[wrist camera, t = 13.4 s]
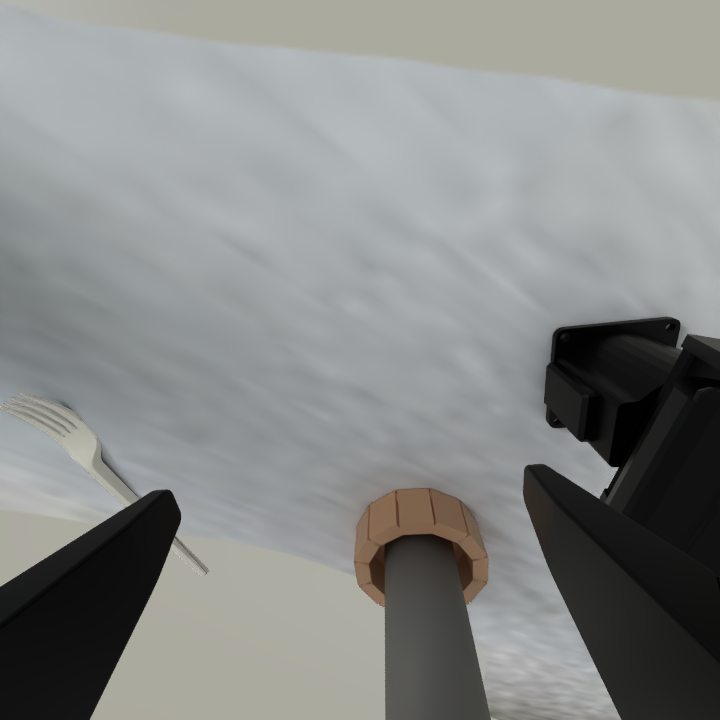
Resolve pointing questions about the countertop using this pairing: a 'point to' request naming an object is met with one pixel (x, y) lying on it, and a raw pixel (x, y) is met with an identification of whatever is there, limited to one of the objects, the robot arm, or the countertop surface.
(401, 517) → the terracotta bowl
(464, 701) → the pepper mill
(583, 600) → the robot arm
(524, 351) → the countertop surface
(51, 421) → the off-white fork
